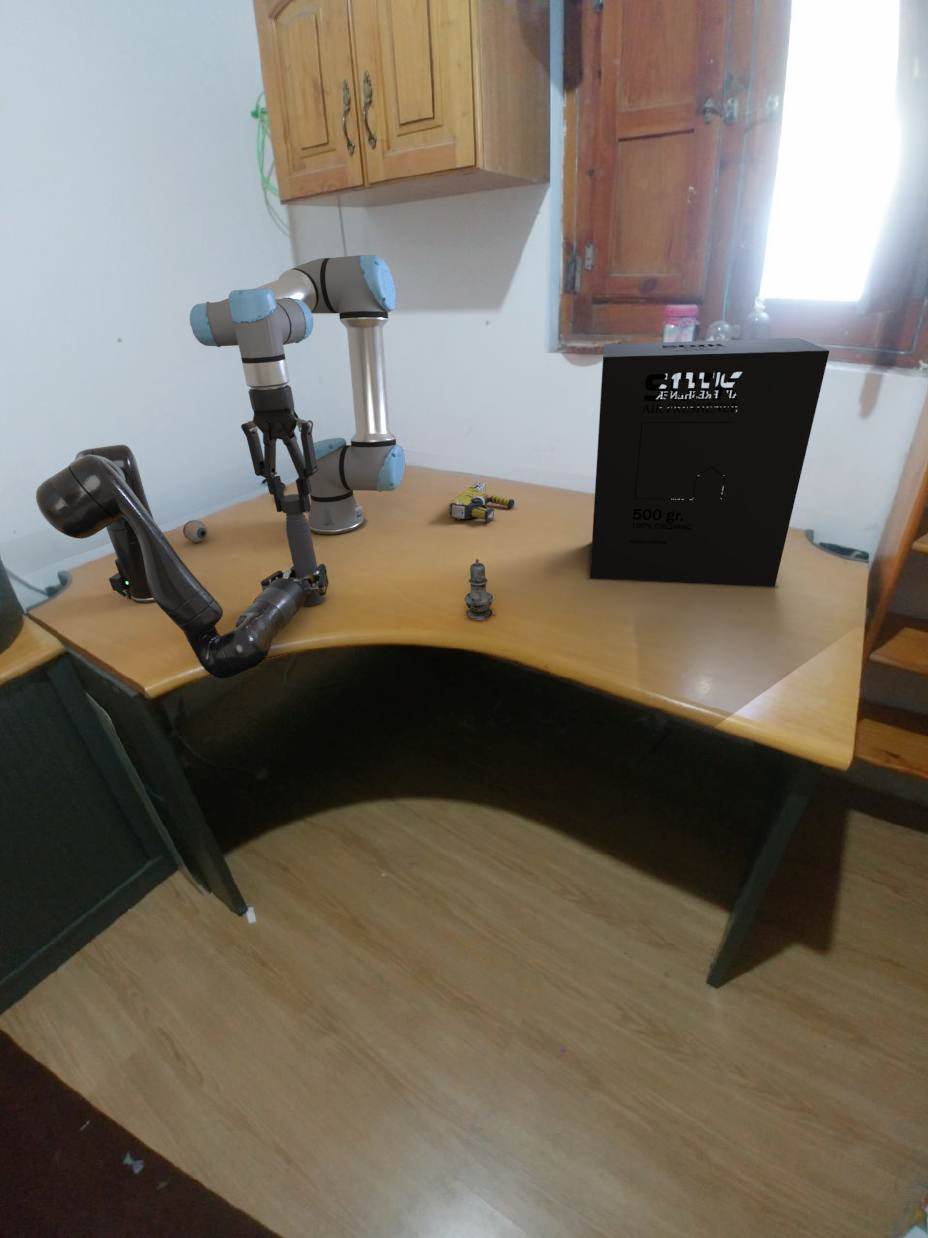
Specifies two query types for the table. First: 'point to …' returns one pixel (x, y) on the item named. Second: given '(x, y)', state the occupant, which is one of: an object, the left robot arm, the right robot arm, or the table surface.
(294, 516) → the bottle
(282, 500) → the cap
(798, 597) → the table surface
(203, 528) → the eyeball
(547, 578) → the table surface
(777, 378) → the cardboard box
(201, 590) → the left robot arm
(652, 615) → the table surface
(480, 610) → the grey chess piece
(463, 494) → the toy gun
